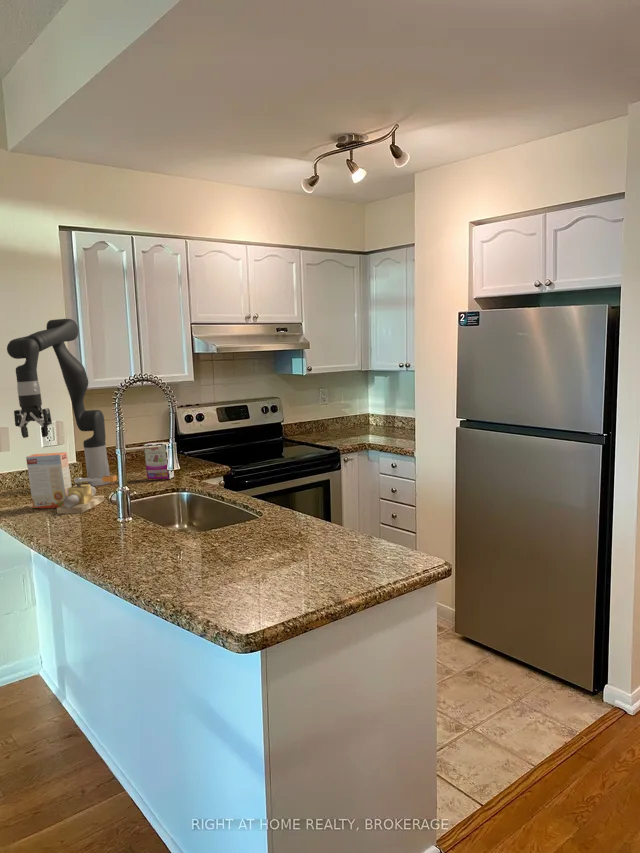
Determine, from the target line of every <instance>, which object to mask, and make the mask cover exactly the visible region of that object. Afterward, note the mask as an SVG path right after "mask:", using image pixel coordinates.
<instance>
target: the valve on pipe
mask: <svg viewBox="0 0 640 853" xmlns="http://www.w3.org/2000/svg"><path fill="white" fill-rule="evenodd" d="M96 494H97V489H96V488H95V486H90V484H88V483H87V484H82V483H81V484H74V485H73V486H72V487H70V488H68V497H67V498H65V499H64V505H62V506H60V507H58V508H56V512H57V513H59V514H78V513H80V514H83V513H84V512H86V511H88V510H91V509H92V508H94V507H96V506H97V505H99V504H101V503H103V502H104V501H105V496H104V495H96Z"/></svg>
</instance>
